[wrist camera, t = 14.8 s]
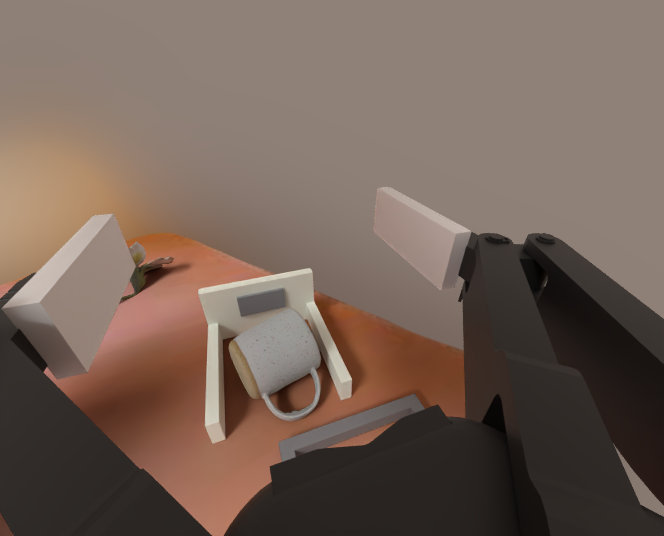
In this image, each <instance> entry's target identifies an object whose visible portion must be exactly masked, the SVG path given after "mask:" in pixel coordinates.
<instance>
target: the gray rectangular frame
mask: <svg viewBox="0 0 664 536" xmlns="http://www.w3.org/2000/svg"><path fill="white" fill-rule="evenodd" d="M424 409H425V408H424V407H423V405H422V404H421V402H420V401H419V399H418V398H417V396H416V395H415V394H412V395H409V396H406V397H403V398H401V399H398V400H395V401H392V402H389V403H387V404H384V405H381V406H378V407H375V408H372V409H370V410H367V411H364V412H361V413H358V414H356V415H353V416H350V417H347V418H344V419H342V420H339V421H336V422H333V423H330V424H328V425H325V426H322V427H319V428H316V429H314V430H311V431H308V432H305V433H302V434H300V435H297V436H294V437H291V438H288V439H286V440H283V441H280V442H278V443H279V448H280V454H281V459H282V462H283V461H286V460H289V459H291V458H294V457H297V456H300V455H302V454H305V453H308V452H310V451H313V450H316V449H323V448H326V447H329V446H331V445H334V444H337V443H339V442H342V441H344V440H347V439H350V438H352V437H355V436H358V435H360V434H363V433H366V432H368V431H371V430H373V429H376V428H379V427H381V426H384V425H387V424H389V423H392V422H394V421H397V420H400V419H401V418H402V417H405V416H408V415H410V414H413V413H416V412H419V411H421V410H424Z"/></svg>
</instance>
